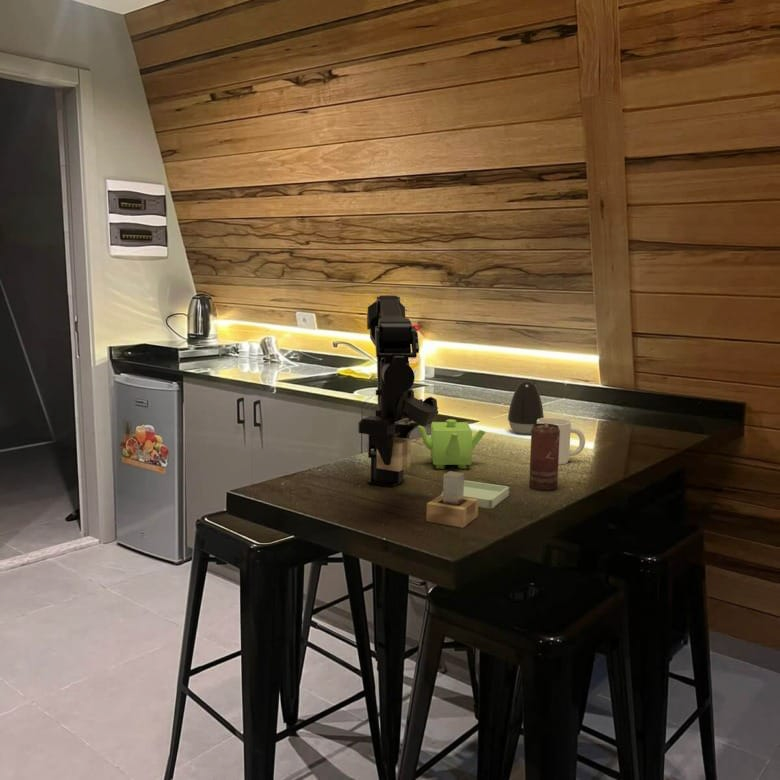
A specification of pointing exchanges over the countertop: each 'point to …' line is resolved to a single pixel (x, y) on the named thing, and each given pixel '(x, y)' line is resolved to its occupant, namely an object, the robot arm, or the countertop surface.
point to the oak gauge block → (452, 512)
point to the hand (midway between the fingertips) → (393, 461)
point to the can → (544, 456)
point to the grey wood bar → (453, 488)
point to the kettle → (450, 443)
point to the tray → (485, 493)
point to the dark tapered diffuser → (525, 408)
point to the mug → (565, 438)
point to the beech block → (397, 455)
